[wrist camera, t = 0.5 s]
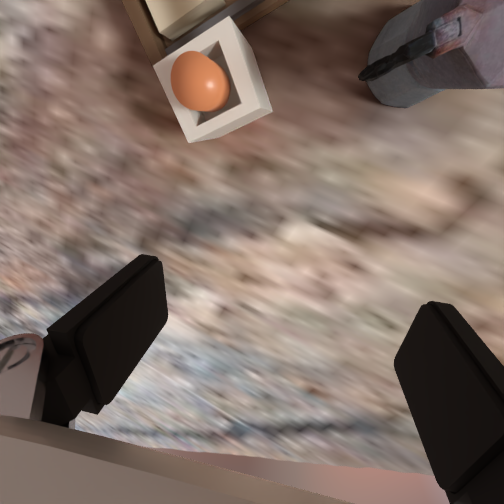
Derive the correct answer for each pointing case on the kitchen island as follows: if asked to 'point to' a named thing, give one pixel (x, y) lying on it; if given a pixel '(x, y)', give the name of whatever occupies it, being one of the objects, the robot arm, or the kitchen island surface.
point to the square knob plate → (181, 14)
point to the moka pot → (437, 51)
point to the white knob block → (240, 75)
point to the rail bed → (159, 46)
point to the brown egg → (199, 82)
